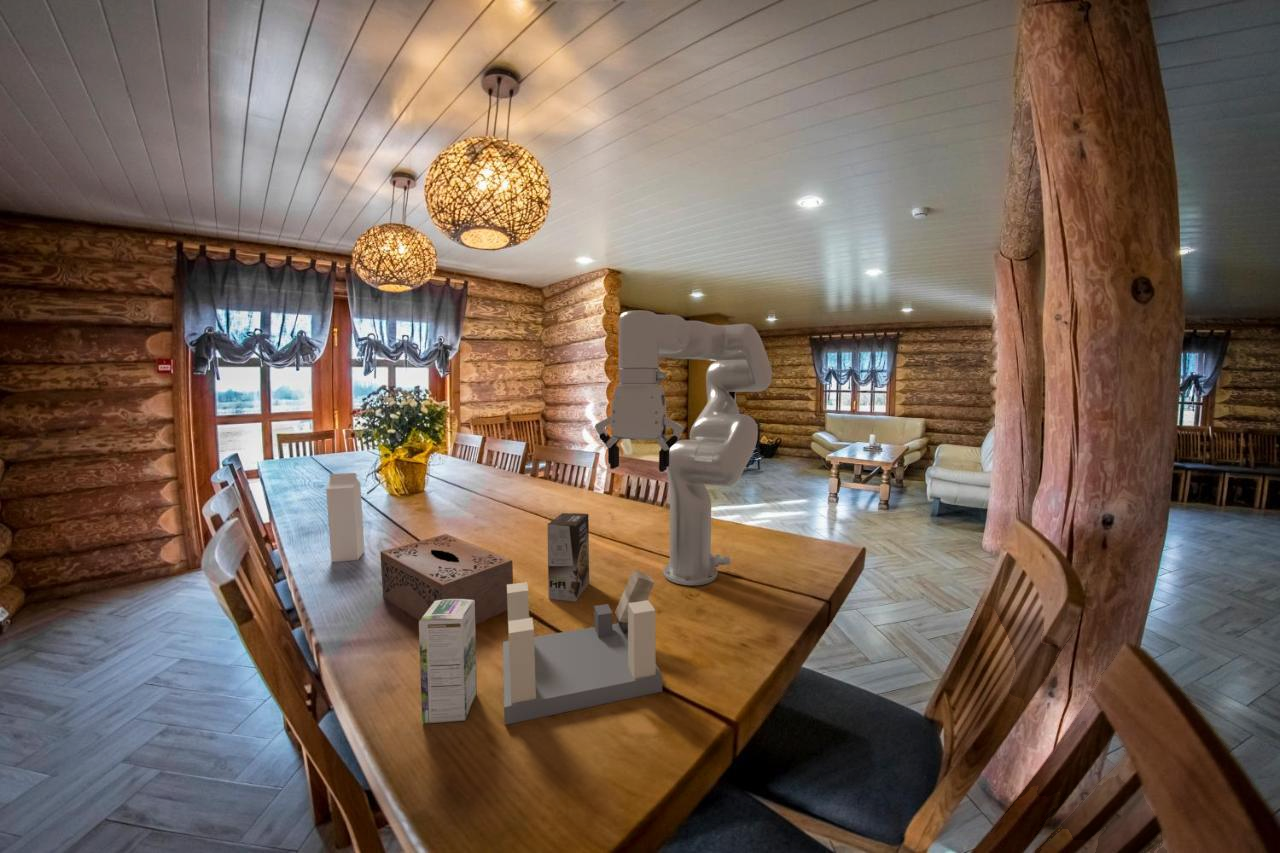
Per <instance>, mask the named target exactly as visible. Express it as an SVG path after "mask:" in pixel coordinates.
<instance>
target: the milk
mask: <svg viewBox="0 0 1280 853" xmlns="http://www.w3.org/2000/svg"><path fill="white" fill-rule="evenodd" d="M328 481H329V482H328V484H327V486H326V488H325V490H326V492H325V493H326V504H327V506H326V507H327V517H328V518H327V520H328V531H329V535H328V536H329V545H330V546H329V547H330V560H331V563H338V562H348V561H349V562H350V561H358V560H359V559H360V558H361V557H362V556H363V554H364V553H365V552H366V550H365V537H364V536H365V534H364V523H363V522H364V520H363V506H362V490H361V482H360V481H359V479H358V478H357V473H355V472H348V473H346V472H345V473H331V474H330V475H329V480H328Z"/></svg>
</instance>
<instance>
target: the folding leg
mask: <svg viewBox="0 0 1280 853" xmlns="http://www.w3.org/2000/svg"><path fill="white" fill-rule="evenodd" d="M654 586H655V581H654V580H653V579H652V577H651V575H649V574H646V573H644V572H641V571H638V570H635V569H633V570H632V571H631V574H630V575H629V578H628V581H627V583H626V586H625V588H624V591H623V592H622V595H621V597H620V599H619V601H618V605H617V606H616V609H615V611H614V613H615V616H616V617H615V619H616V621H617V622H616V623H618V624H619V626H620V628H621V630H622V631H623V632H624V633H628V603H633V602H640V601H647V600H648V599H649V596H650V595H651V592H652V590H653V588H654Z"/></svg>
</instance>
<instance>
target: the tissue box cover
mask: <svg viewBox="0 0 1280 853" xmlns="http://www.w3.org/2000/svg"><path fill="white" fill-rule="evenodd" d="M379 554H380V570H381V584H382V585H381V587H382V597H384V598H385V599H386V600H388V601H389V602H391V603H392V604H393V605H395V606H397V607H398V608H400V609H402V611H404V612H405V613H407V614H408V615H410V616H412V617H413V618H415V619H416V620H417V621H418V622H419V621H420V620H421V618H422V617H423V616H424V614H425V613H426V612H427V611H428V609H429V608H430V607H431V605H432V604H433V603H434V601H437V600H444V599H469V600H474V601H475V626H476V625H478V624H480V623H482V622H484V621H486V620H488V619H490V618H493V617H496V616H497V615H499V614H502V613H504V612H508V606H507V585H508V584H514V570H513V567H514V566H513V560H512V559H510V558H508V557H505V556H502V555H500V554H497V553H495V552H493V551H490V550H487V549H485V548H482V547H480V546H477V545H475V544H472V543H470V542H467V541H464V540H462V539H459V538H457V537H455V536H452V535H449V534H447V533H444V534H442V535H436V536H433V537H430V538H429V537H428V538H426V539H423V540H418V541H414V542H411V543H407V544H404V545H400V546H396V547H392V548H389V549H385V550H381V551H380V552H379Z"/></svg>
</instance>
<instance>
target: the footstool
mask: <svg viewBox="0 0 1280 853" xmlns="http://www.w3.org/2000/svg"><path fill="white" fill-rule="evenodd" d="M529 598H530V597H529V586H528V582H527V581H525V582H517V583H513V584H508V585H507V606H508V610H507V627H508V628H507V630H508V633H507V634H508V636H507V637H508V640H507V641H502V650H503V651H502V652H503V653H502V657H503V658H502V659H503V672H502V673H503V712H504V714H503V715H504V726H506V725H511V724H516V723H520V722H525V721H526V722H527V721H530V720H535V719H540V718H543V717H545V718H546V717H549V716H553V715H558V714H563V713H567V712H572V711H577V710H582V709H586V708H591V707H595V706H596V707H597V706H600V705H606V704H610V703H615V702H618V701H619V702H620V701H624V700H629V699H634V698H639V697H643V696H648V695H653V694H658V693H662V692H663V674H662V673H661V671H660V669H659V667H658V665H657V663H656V609H655V607H654V606H653V605H652V603H651V602H650V600H648V599H647V601H640V602H633V603H628V633H624V632H623V631H622V630H621V628H620V626H619V624H618V622H616V623H613V611H612V609H611V608H610V606H609V605H610V604H608V603H607V604H600V605H594V608H593V609H594V610H593V611H594V612H593V613H594V614H593V615H594V627H588V628H587V627H586V628H580V629H574V630H567V631H561V632H555V633H549V634H544V635H537V636H536V635H535V627H534V621H533V617H530V606H529V605H530V604H529V603H530V600H529Z"/></svg>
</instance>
